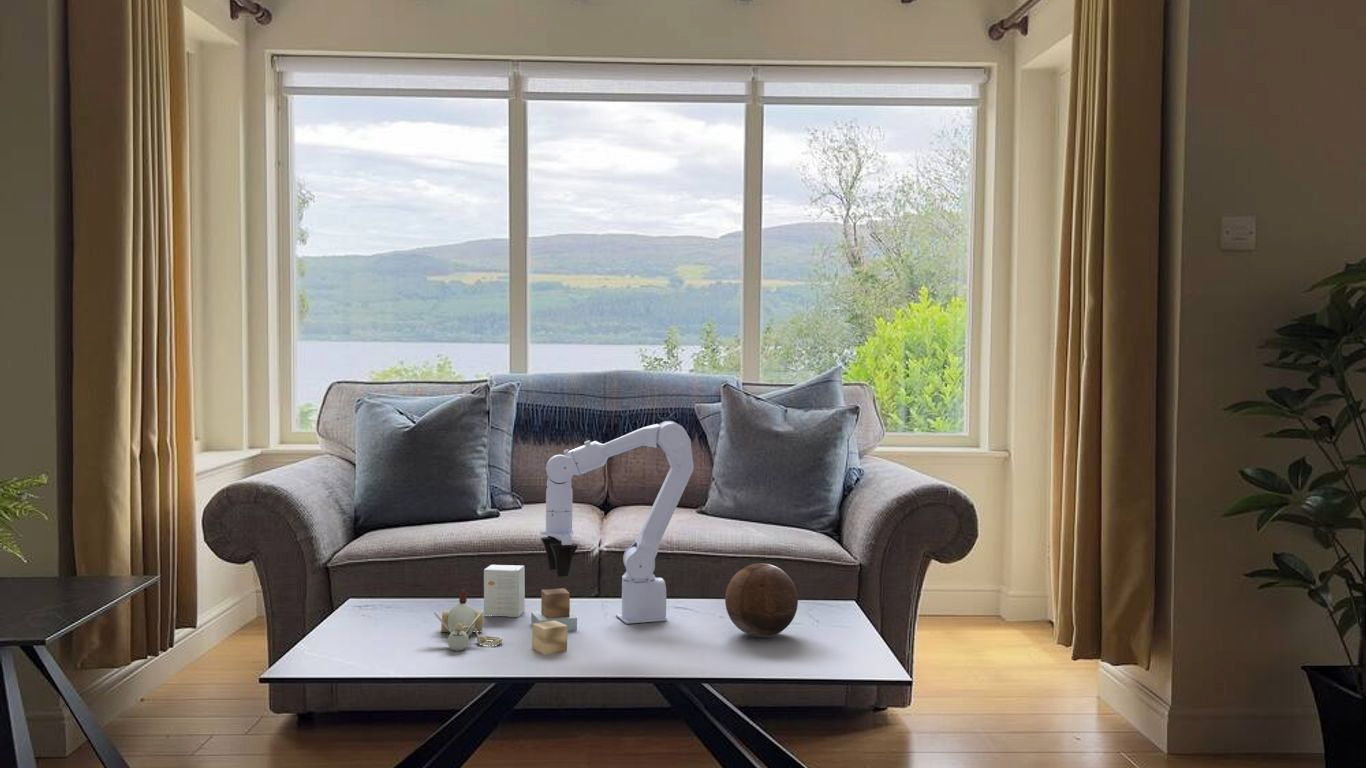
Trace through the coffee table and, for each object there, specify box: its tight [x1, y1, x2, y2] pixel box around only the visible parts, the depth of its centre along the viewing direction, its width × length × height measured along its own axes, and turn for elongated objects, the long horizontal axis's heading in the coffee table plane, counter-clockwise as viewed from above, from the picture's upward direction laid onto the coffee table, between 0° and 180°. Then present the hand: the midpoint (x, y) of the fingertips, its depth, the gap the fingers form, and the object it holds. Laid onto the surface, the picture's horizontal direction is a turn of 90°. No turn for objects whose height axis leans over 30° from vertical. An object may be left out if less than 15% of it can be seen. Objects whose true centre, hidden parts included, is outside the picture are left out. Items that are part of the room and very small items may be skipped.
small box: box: [483, 564, 526, 618], centre depth 235 cm, size 8×6×10 cm
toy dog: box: [433, 589, 504, 652], centre depth 214 cm, size 12×19×9 cm, turn 30°
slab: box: [530, 610, 578, 632], centre depth 224 cm, size 8×8×3 cm
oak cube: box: [531, 620, 568, 656], centre depth 207 cm, size 5×5×5 cm
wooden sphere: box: [724, 562, 799, 638], centre depth 219 cm, size 15×15×15 cm
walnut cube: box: [540, 587, 571, 619], centre depth 224 cm, size 5×5×5 cm
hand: (558, 572), depth 230 cm, fingers open, 7 cm apart
